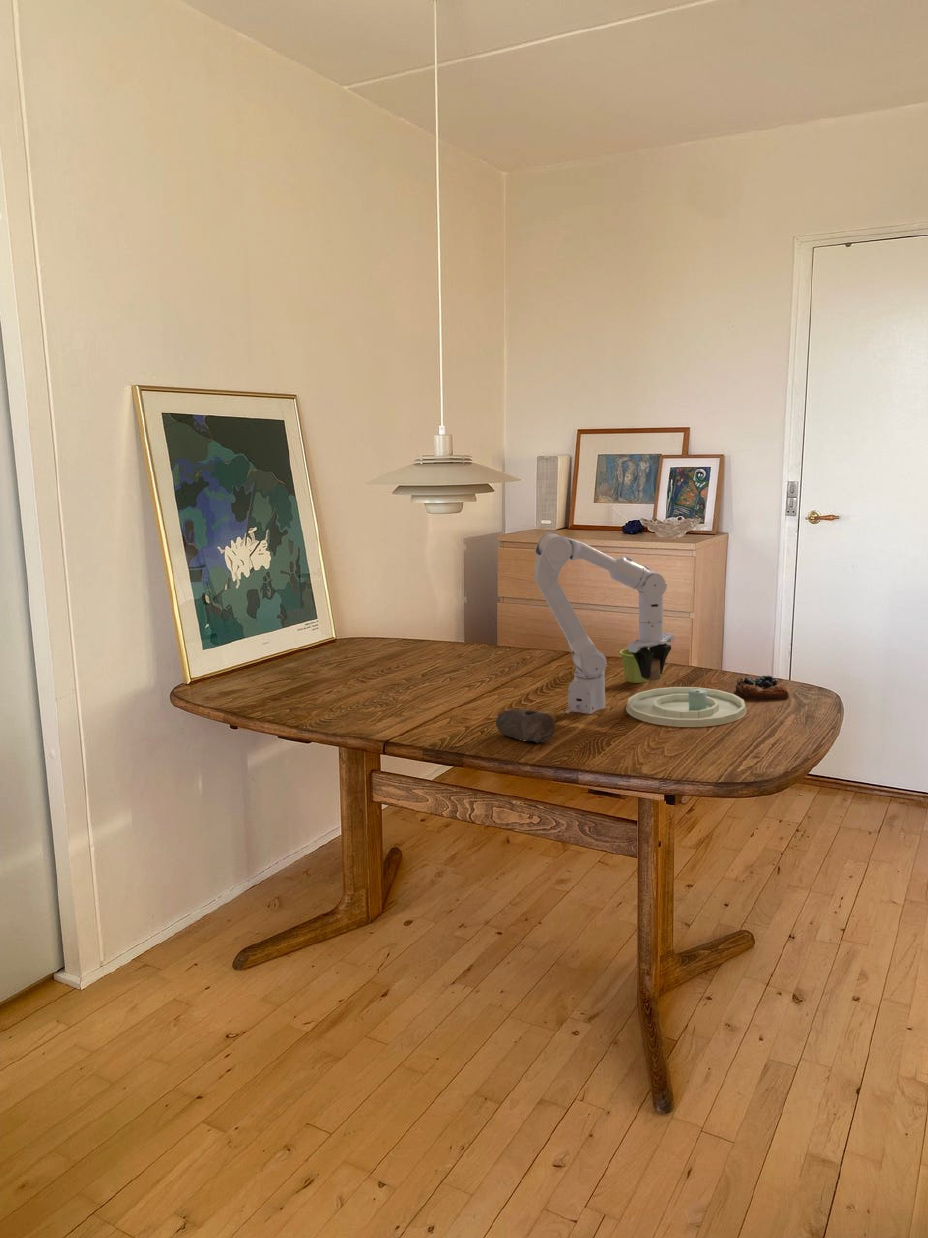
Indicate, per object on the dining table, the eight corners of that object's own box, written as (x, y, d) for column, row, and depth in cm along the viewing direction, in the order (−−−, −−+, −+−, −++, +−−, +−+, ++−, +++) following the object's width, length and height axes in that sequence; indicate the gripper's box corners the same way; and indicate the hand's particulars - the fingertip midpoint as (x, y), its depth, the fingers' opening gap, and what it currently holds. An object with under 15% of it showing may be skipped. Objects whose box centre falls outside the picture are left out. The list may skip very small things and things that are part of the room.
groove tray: (721, 738, 202) (721, 726, 202) (606, 720, 218) (605, 710, 217) (762, 704, 224) (763, 694, 223) (655, 691, 240) (655, 681, 239)
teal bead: (702, 713, 216) (702, 694, 215) (686, 711, 219) (686, 692, 218) (709, 709, 219) (709, 690, 219) (692, 706, 222) (692, 688, 221)
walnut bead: (656, 681, 224) (655, 662, 224) (640, 679, 227) (640, 661, 226) (663, 677, 228) (662, 659, 227) (647, 675, 230) (647, 657, 229)
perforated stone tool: (489, 736, 211) (488, 707, 210) (504, 730, 215) (503, 701, 213) (542, 749, 201) (541, 718, 200) (557, 742, 205) (556, 712, 203)
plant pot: (654, 678, 252) (654, 646, 250) (658, 687, 243) (657, 655, 241) (619, 679, 253) (618, 647, 252) (621, 688, 244) (621, 656, 242)
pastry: (730, 693, 235) (731, 671, 234) (778, 691, 235) (779, 669, 234) (743, 706, 224) (743, 682, 223) (793, 704, 224) (794, 680, 223)
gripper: (644, 628, 217) (645, 684, 220) (683, 618, 226) (683, 672, 229) (621, 624, 222) (622, 679, 225) (660, 614, 231) (660, 667, 234)
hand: (651, 675), depth 227 cm, fingers closed on walnut bead, 4 cm apart
